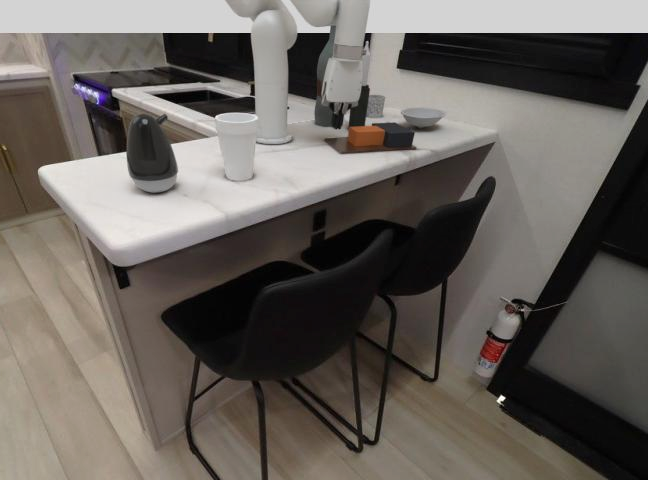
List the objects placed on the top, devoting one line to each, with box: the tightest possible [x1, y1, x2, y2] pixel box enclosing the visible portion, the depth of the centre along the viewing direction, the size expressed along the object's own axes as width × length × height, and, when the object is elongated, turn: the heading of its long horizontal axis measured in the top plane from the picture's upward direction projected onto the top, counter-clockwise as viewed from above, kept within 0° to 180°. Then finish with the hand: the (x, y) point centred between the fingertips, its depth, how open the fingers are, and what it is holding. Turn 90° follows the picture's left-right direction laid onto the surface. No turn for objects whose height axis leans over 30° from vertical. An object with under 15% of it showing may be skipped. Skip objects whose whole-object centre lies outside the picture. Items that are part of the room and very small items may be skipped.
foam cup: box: [214, 112, 258, 182], centre depth 87 cm, size 10×9×13 cm
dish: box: [400, 107, 447, 129], centre depth 131 cm, size 18×14×5 cm
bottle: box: [313, 26, 341, 128], centre depth 125 cm, size 9×9×30 cm
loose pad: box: [347, 125, 385, 146], centre depth 113 cm, size 9×6×4 cm, turn 105°
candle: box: [347, 40, 371, 130], centre depth 121 cm, size 5×5×25 cm
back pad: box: [371, 122, 416, 148], centre depth 115 cm, size 8×12×4 cm, turn 15°
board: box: [324, 136, 417, 155], centre depth 115 cm, size 24×14×1 cm, turn 105°
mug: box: [366, 94, 386, 119], centre depth 144 cm, size 10×7×7 cm, turn 113°
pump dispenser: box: [125, 112, 179, 194], centre depth 79 cm, size 10×10×15 cm
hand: (336, 128), depth 110 cm, fingers closed
